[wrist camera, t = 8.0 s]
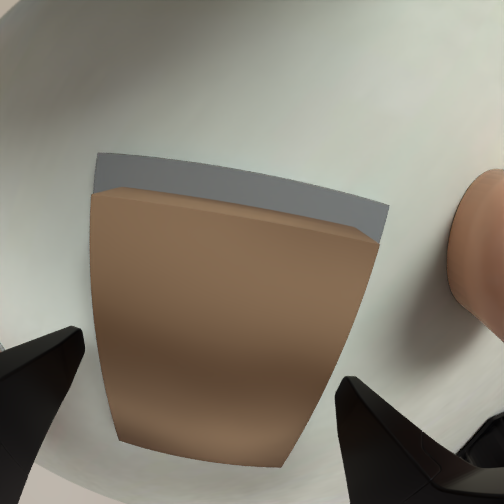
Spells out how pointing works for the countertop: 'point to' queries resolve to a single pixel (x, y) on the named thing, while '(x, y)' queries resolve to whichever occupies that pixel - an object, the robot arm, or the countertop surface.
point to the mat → (239, 189)
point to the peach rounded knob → (480, 251)
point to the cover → (219, 320)
